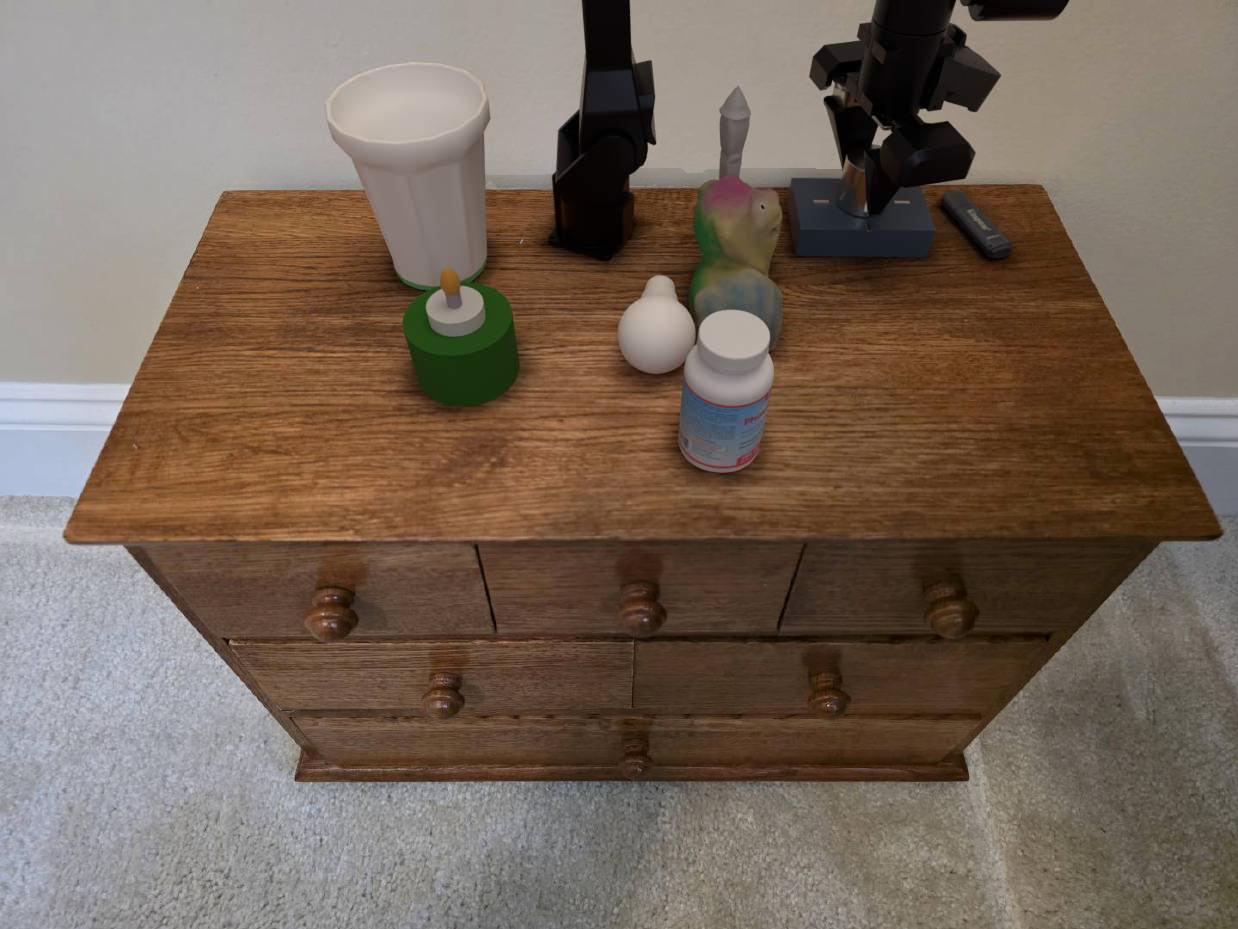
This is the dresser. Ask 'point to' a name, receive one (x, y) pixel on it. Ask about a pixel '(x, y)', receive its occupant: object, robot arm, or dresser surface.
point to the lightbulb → (656, 329)
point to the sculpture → (736, 253)
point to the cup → (419, 163)
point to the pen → (733, 132)
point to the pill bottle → (726, 392)
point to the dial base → (856, 223)
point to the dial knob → (854, 183)
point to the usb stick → (976, 224)
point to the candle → (462, 342)
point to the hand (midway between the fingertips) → (862, 198)
